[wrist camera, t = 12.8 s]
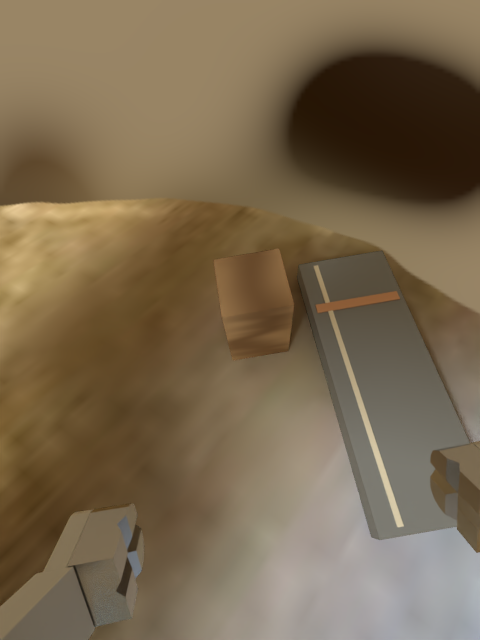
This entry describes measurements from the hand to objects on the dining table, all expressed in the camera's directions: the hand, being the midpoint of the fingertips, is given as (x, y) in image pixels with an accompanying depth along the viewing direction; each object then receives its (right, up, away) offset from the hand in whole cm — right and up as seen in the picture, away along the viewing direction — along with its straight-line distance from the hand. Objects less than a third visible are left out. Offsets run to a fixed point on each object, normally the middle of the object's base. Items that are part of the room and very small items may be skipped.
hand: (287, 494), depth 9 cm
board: (+10, 0, +19) cm, 22 cm away
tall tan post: (0, +4, +22) cm, 22 cm away
